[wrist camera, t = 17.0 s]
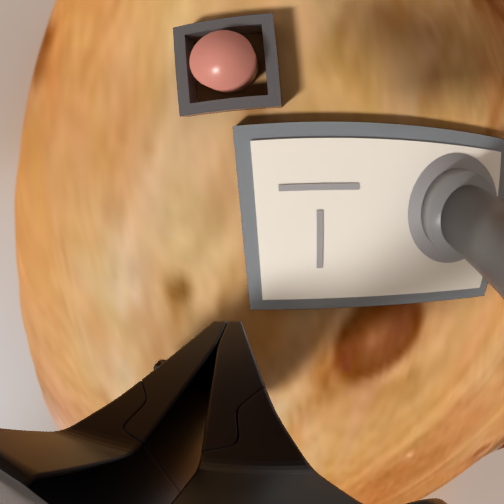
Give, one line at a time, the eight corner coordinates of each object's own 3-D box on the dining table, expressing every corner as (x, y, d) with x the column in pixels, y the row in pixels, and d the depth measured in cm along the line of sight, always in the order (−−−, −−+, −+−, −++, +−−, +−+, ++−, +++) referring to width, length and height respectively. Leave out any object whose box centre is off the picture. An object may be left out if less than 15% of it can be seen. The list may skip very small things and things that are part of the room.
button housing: (188, 116, 18) (179, 116, 17) (182, 34, 16) (173, 27, 14) (281, 107, 17) (281, 105, 16) (273, 22, 15) (272, 13, 13)
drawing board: (251, 302, 23) (249, 312, 22) (235, 125, 18) (232, 126, 17) (478, 289, 21) (485, 297, 20) (501, 138, 16) (511, 140, 14)
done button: (203, 96, 17) (192, 93, 15) (199, 45, 16) (187, 36, 13) (260, 90, 17) (256, 85, 14) (256, 38, 15) (251, 26, 13)
